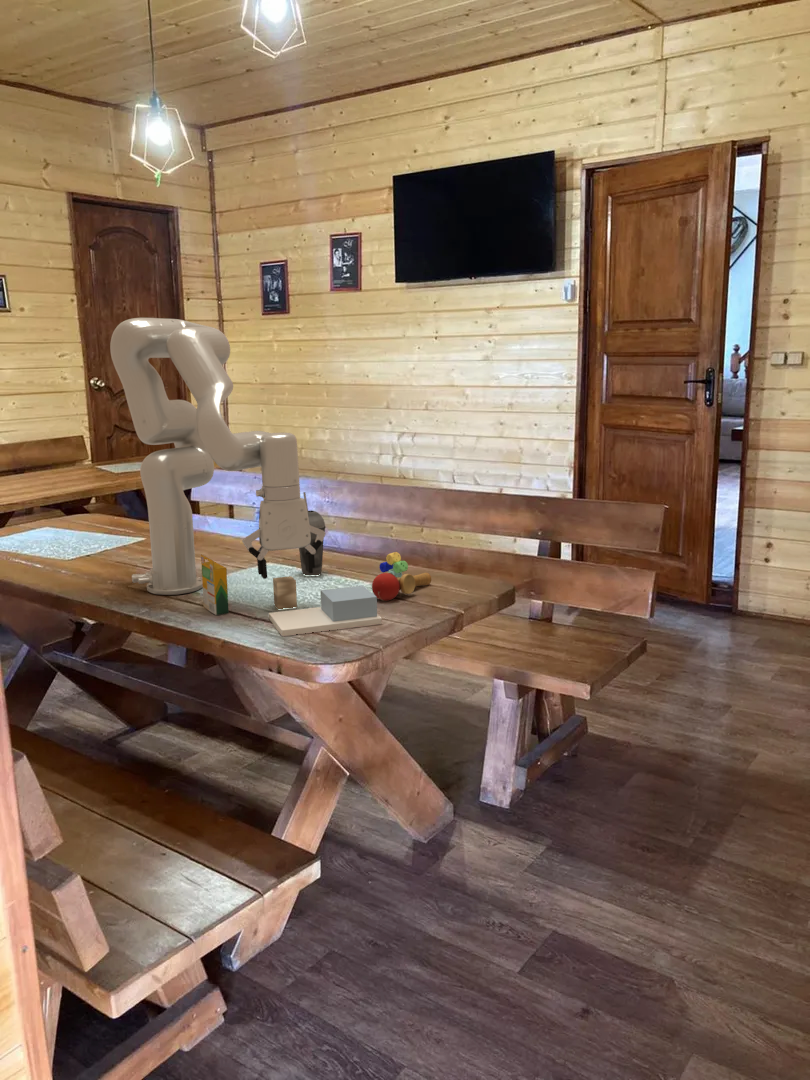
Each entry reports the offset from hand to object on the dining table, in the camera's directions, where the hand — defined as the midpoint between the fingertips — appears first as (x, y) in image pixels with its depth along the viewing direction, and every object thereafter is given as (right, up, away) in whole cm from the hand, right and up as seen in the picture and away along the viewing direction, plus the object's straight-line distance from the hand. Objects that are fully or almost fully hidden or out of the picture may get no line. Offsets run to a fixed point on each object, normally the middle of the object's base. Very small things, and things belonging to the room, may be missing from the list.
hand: (287, 574), depth 182 cm
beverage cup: (+2, -1, +28) cm, 28 cm away
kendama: (+24, -5, +11) cm, 27 cm away
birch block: (-1, -7, +2) cm, 7 cm away
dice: (+22, -2, +24) cm, 32 cm away
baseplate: (+9, -9, -8) cm, 15 cm away
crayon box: (-15, -8, 0) cm, 17 cm away
